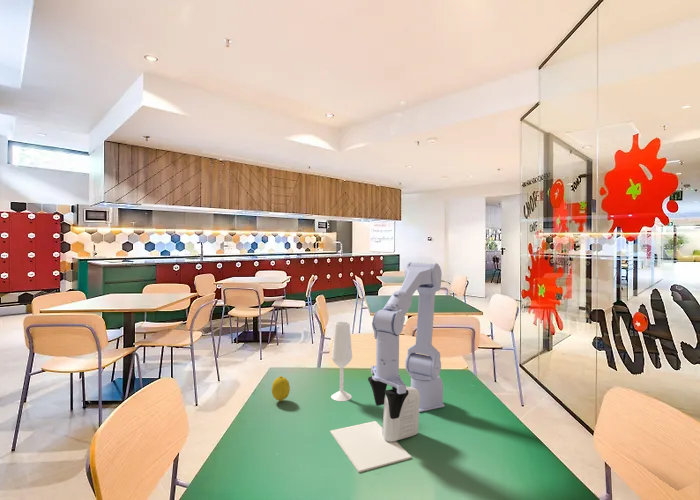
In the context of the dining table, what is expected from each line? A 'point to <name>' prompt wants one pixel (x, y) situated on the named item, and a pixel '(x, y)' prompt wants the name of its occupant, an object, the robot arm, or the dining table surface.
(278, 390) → the lemon
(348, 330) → the champagne flute
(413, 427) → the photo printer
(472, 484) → the dining table surface
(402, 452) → the mat
